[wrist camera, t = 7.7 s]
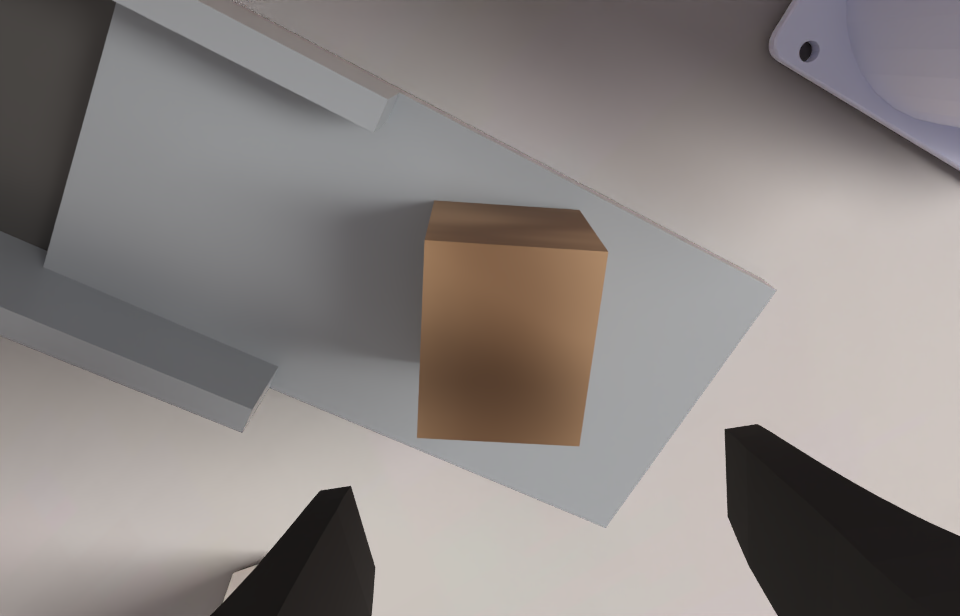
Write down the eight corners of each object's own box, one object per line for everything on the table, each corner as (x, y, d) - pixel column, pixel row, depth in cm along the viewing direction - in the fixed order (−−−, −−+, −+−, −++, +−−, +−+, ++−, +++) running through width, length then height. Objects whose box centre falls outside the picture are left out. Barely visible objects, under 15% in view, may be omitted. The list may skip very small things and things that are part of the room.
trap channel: (762, 279, 20) (820, 324, 16) (600, 508, 23) (621, 584, 19) (-156, -204, 15) (-330, -274, 12) (-202, 169, 18) (-350, 195, 15)
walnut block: (579, 210, 18) (608, 252, 14) (558, 371, 20) (579, 446, 16) (434, 200, 18) (424, 240, 14) (426, 364, 19) (416, 438, 16)
